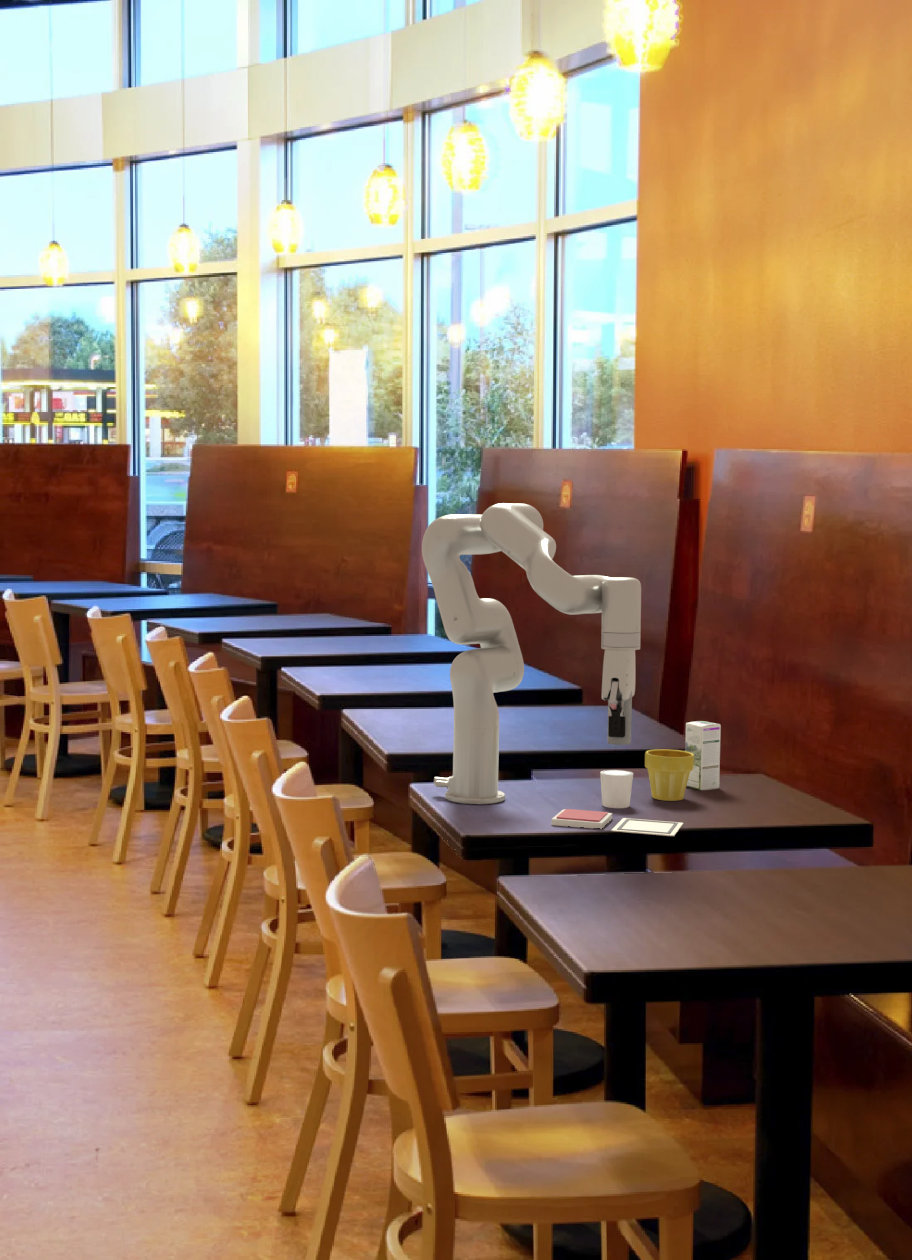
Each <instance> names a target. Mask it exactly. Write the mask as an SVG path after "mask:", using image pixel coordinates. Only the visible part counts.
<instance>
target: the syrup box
mask: <svg viewBox="0 0 912 1260" xmlns="http://www.w3.org/2000/svg"><path fill="white" fill-rule="evenodd" d="M721 729H722V727H721V724H720V723H715V722H709V721H704V720H696V721H690V722H686V723H685V739H684V740H685V746H684V747H685V749H684V751H686V752H690V753H693V754H694V765H693V770H692V771H690V774H689V778H688V782H687V785H686V788H691V789H694V790H698V791H708V790H709V791H711V790H718V789H720V773H721V772H720V768H721V767H720V765H721V764H720V763H721V762H720V760H721Z"/></svg>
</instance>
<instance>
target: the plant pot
mask: <svg viewBox="0 0 912 1260" xmlns="http://www.w3.org/2000/svg"><path fill="white" fill-rule="evenodd" d="M693 765H694V754H693V753H690V752H686V751H685V750H679V749H669V748H667V749H660V748H658V749H656V748H655V749H649V750H646V751H645V753H644V767H645V768H646V769H647V773H648V779H649V785H650V792H651V793H650V794H651V797H652V798H653V799H655V800H660V801H665V802H666V801H667V802H676V801H682V800H684V797H685V792H686V788H687V786H686V785H687V782H688V778H689V774H690V771H692V770H693Z"/></svg>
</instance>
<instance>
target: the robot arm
mask: <svg viewBox="0 0 912 1260" xmlns="http://www.w3.org/2000/svg"><path fill="white" fill-rule="evenodd" d="M556 543H557V542H556V540H555V539H554V538H553V537H552V536H551V535H550V534H548V533H547V531H544V520H543V517H542V515H541V513H540V512H539V510H537V508H535V507H534V506H532V505H530V504H526V503H507V502H506V503H505V502H502V503H495V504H493V505H490V506H489V507H488V508H486V510H484V511H483V513H482V514H465V513H464V514H463V513H462V514H461V513H460V514H459V513H457V514H456V513H455V514H453V513H452V514H445V515H442V516H440V517H437V518H435V519H434V520H433V521H432V522H430V524H429V525H428V526H427V528H426V530H425V532H424V533H423V538H422V542H421V555H422V560H423V563H424V567H425V568H426V571H427V573H428V576H429V579H430V582H431V584H432V589H433V591H434V596H435V599H436V603H437V606H438V611H439V615H440V618H441V621H442V625H443V628H444V631H445V635H446V637H447V639H448V640H449V641H451V643H453V644H456V645H465V646H466V645H477V644H479V645H480V646H479V647H480V648H473V649H469V650H464V651H462V652H461V653H459V654H458V655H457V656H456V657H455V658H454V659H453V661H452V663H451V665H450V668H449V679H450V686H451V692H452V699H453V700H452V701H453V747H452V749H453V752H452V754H453V755H452V775H451V776H449V777H442V776H441V777H440V776H434V778H433V785H434V786H435V787H436V788H446V789H447V791H445V793H444V798H445V799H446V800H447V801H449V802H453V803H457V804H464V805H465V804H468V805H489V804H498V803H501V802H503V801H505V800H506V793H505V792H503V791H501V790H499V760H500V759H499V756H500V753H499V752H500V751H499V749H500V745H499V744H500V713H499V711H500V710H499V708H498V704H497V701H496V699H495V696H494V693H500V692H501V693H502V692H508V691H512V690H514V689H516V688H517V687H518V686H519V685H520V684H521V682H522V681H523V679H524V674H525V663H524V658H523V654H522V650H521V647H520V644H519V641H518V640H519V639H518V636H517V632H516V629H515V627H514V626H515V625H514V623H513V619H512V616H511V614H510V612H509V610H508V609H507V607H506V606H505V605H504V604H503V603H502V602H501V601H499V600H497V599H495V598H491V597H490V598H486V597H485V598H484V597H483V598H480V597H479V595H478V593H477V590H476V587H475V582H474V580H473V579H474V578H473V576H472V574H471V572H470V571H469V568H467V566H466V564H465V563H464V562H463V561H462V560H461V558H460V556H462V555H464V556H465V555H467V556H468V555H469V556H471V555H489V554H494V553H499V552H502V553H503V554H505V555H506V556H507V557H508V558H510V559H511V560H512V561H513V562H514V563H516V564H517V565H518V566H520V567H521V568H522V569H523V570H524V571H525V573H526V578H527V580H528V582H529V584H530V587H531V588H532V589H533V591H534V592H535V594H537V595H538V596H539V597H540V598H541V599H543V601H545V602H546V603H547V604H549V606H551V607H552V608H554V609H555V610H557V611H559V612H560V613H562V614H567V615H570V616H571V615H585V614H587V615H588V614H590V615H591V614H600V613H601V633H600V634H601V638H600V639H601V643H600V644H601V645H600V647H601V649H602V650H604V654H603V664H602V679H601V681H602V682H601V700H603V701H608V697H610V700H609V722H608V721H607V737H608V736H609V737H621V738H623V737H625V717H624V705H625V701H626V700H628V699H629V698H630V694H631V691H632V698H633V697H634V696H635V694H636V693H635V692H636V651H637V650H638V651H639V650H641V631H642V630H641V629H642V628H641V626H642V624H641V622H642V621H641V620H642V619H641V618H642V616H641V615H642V614H641V611H642V583H641V582H640V580H639V579H638V578H635V577H627V576H626V577H622V576H619V577H618V576H617V577H615V576H614V577H611V576H605V575H600V574H585V575H579V574H578V575H572V574H570V573H569V572H568V571H566V570H564V568H563V567H561V566H559V564H557V563H556V562H555V561H554V560H553V559H554V557H555V555H556V552H557V551H556V549H557V544H556ZM609 691H610V696H609ZM618 697H621V698H622V700H617V698H618ZM619 704H621V708H620V705H619Z"/></svg>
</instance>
